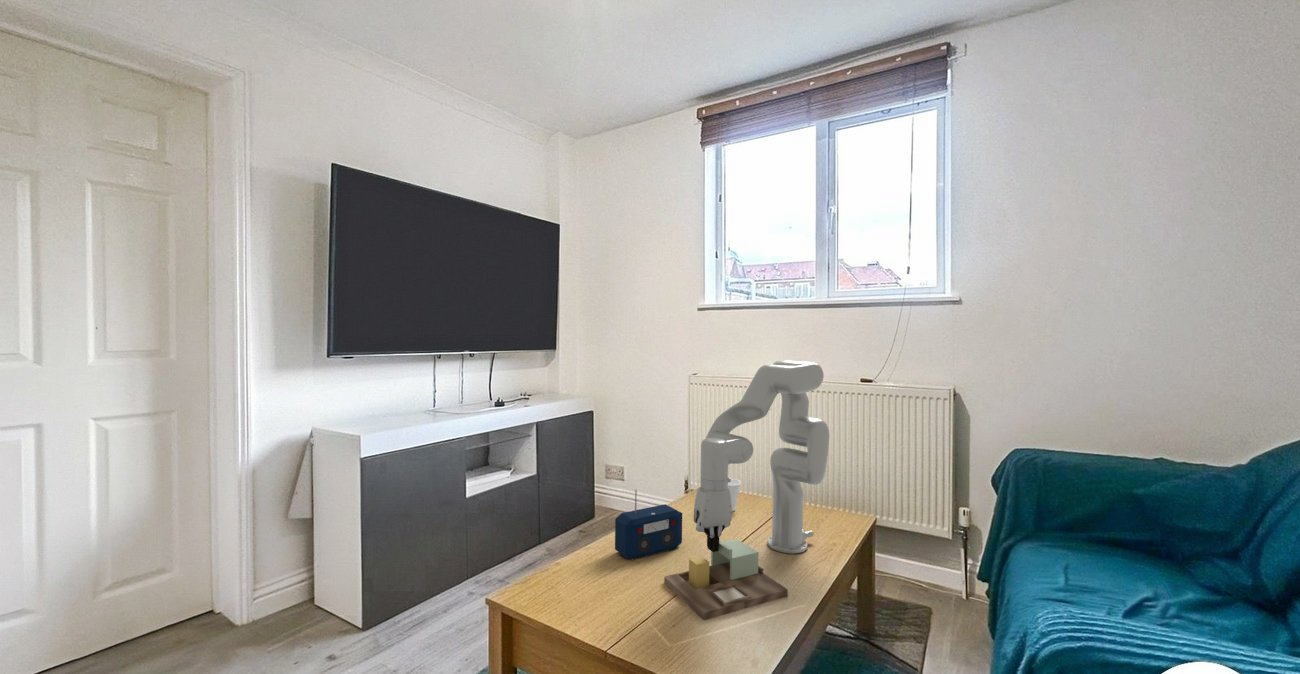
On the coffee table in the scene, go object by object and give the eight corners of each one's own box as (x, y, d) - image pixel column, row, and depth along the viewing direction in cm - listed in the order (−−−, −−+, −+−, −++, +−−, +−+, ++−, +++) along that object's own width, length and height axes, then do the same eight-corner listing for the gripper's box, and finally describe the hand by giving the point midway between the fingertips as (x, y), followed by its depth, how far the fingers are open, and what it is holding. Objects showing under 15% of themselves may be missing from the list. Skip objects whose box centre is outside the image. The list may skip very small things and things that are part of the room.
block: (701, 580, 145) (701, 556, 144) (709, 586, 141) (709, 561, 141) (688, 583, 143) (689, 558, 143) (696, 590, 139) (696, 564, 139)
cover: (736, 558, 154) (737, 530, 153) (758, 573, 145) (758, 543, 145) (708, 565, 149) (708, 536, 149) (728, 580, 140) (729, 549, 140)
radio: (627, 563, 155) (628, 496, 155) (613, 552, 162) (614, 488, 162) (684, 548, 166) (685, 486, 166) (669, 538, 173) (669, 479, 173)
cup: (714, 513, 198) (714, 484, 198) (715, 504, 208) (715, 477, 207) (740, 515, 196) (740, 486, 196) (740, 506, 206) (740, 478, 206)
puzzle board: (741, 565, 154) (741, 554, 154) (787, 596, 137) (787, 584, 137) (664, 583, 143) (664, 572, 143) (703, 620, 125) (704, 607, 125)
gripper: (728, 477, 150) (727, 540, 150) (683, 483, 143) (682, 549, 144) (744, 484, 143) (743, 550, 144) (698, 491, 137) (697, 560, 137)
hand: (712, 549), depth 144 cm, fingers closed
